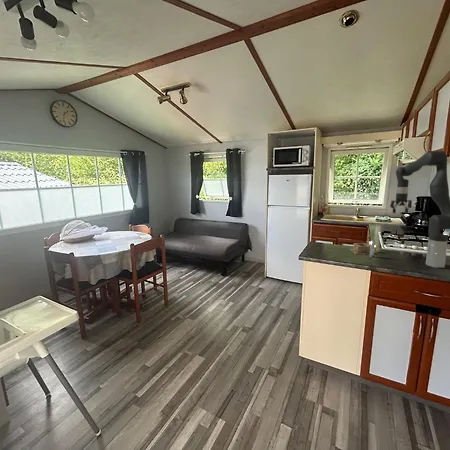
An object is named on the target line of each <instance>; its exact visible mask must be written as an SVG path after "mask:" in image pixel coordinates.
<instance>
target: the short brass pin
mask: <svg viewBox="0 0 450 450" xmlns="http://www.w3.org/2000/svg"><path fill="white" fill-rule="evenodd" d="M379 247H380V246H379V244H377V243H375V251H374V254H379Z"/></svg>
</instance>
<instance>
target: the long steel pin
mask: <svg viewBox="0 0 450 450" xmlns="http://www.w3.org/2000/svg"><path fill="white" fill-rule="evenodd" d="M369 242H370V244H369V246H370V253H369V255H368V257H370V258H374V257H375V253H374V251H375V244H376V240H373V239H371V240H370V241H369Z"/></svg>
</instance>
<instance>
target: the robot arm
mask: <svg viewBox="0 0 450 450" xmlns="http://www.w3.org/2000/svg"><path fill="white" fill-rule="evenodd" d="M424 166H425V167H426V166H429V167H431V166H432V167H433V166H435V167H436V169H435V170H436V173H435V175H434V176H433V179H431V181H430V184H429V195H430V197H431V199H432V200H433V201H434V203H436V205H437V207H438V208H439V210H440V214H434V215H432V216H431V217H430V218H429V222H428V231H427V232H428V240H427V241H428V242H427V249H426V258H425V265H426V266H429V267H432V268H437V269H438V268H442V269H444V268H446V267H445V266H446V260H447V247H448V238H449V237H448V235H445V234H442V233H441V230H450V189H449V180H448V156H447V152H445V150H431V151H428V152H425V153H424V154H422V156H421V157H419V158H417V159H416V160H415V161H412V162H411V163H409V164H407V165H406V166H398V167H397V168H396V171H395V175H396V179H397V180H396V181H397V186H396V192H395V193H396V194H395V200H393V199H392V200H391V201H390V206H389V208H391V209H392V213H393V214H396V211H397V208H398V207H400V206H403V207H404V214H408V212H409V209H410V208H412V205H413V204H412V199H408V195H409V182H410V181H409V179H406V178H404V177H410V176H412V175H413V174H414V173H417V172H418V171H420V170H421V169H422V167H424Z"/></svg>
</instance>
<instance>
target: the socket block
mask: <svg viewBox="0 0 450 450" xmlns="http://www.w3.org/2000/svg"><path fill="white" fill-rule="evenodd" d="M352 246H353V248H350V251H351V252H352V253H353V254H355V255H366V256H367V255H368V256H369V253H370V244H368V243H366V242H365V243H362V242H360V243H359V242H358V243H357V242H355V243H353V245H352Z"/></svg>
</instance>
